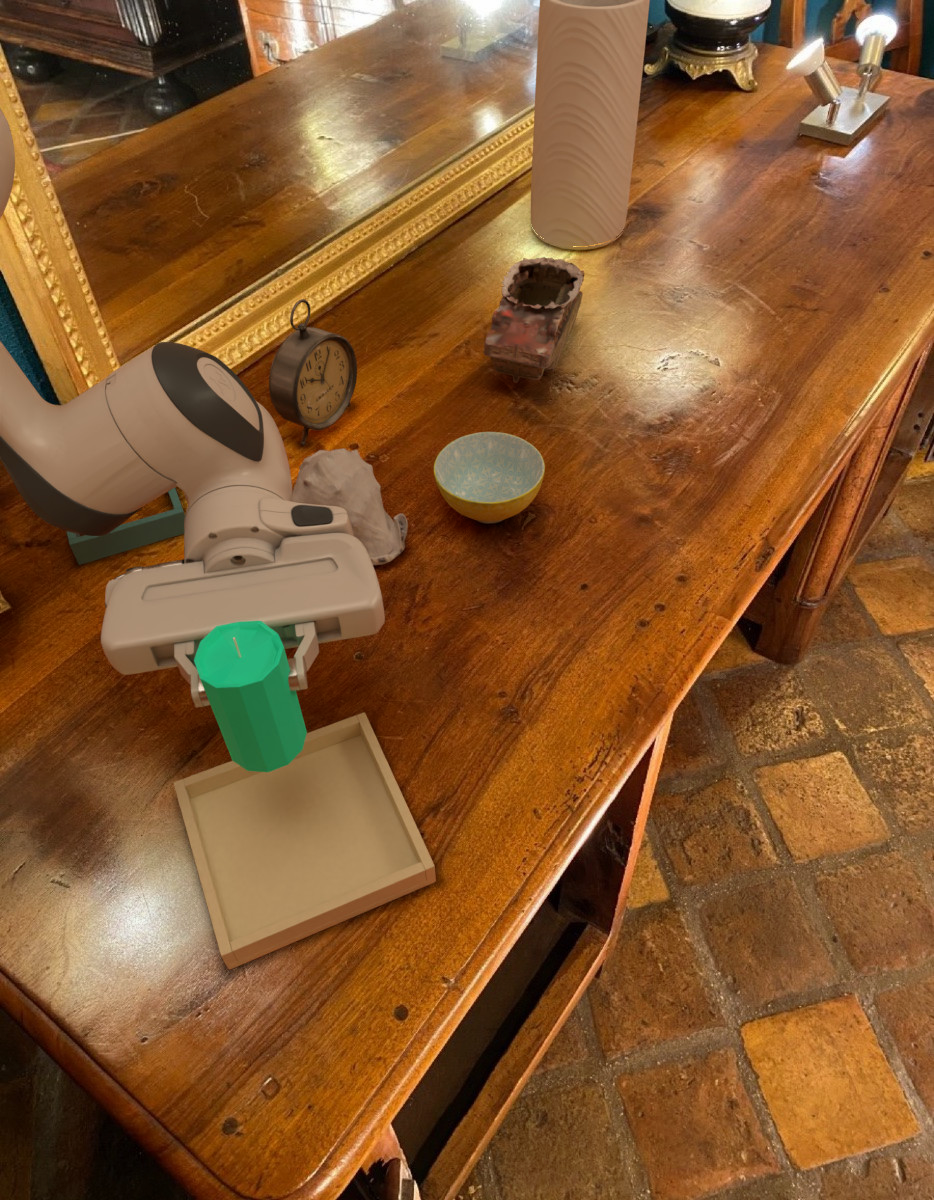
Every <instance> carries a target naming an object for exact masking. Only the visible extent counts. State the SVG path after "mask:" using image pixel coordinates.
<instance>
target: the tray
mask: <svg viewBox="0 0 934 1200" xmlns="http://www.w3.org/2000/svg"><path fill="white" fill-rule="evenodd" d="M399 786H400V785H399V784H398V782H397V780H396V777H395V776H394V773H393V771H392V768H391V767H390V765H389V762H388V760H387V758H386V755H385V754H384V751H383V749H382V747H381V744H380V742H379V740H378V737H377V736H376V734H375V731H374V729H373V727H372V725H371V722H370V721H369V718H368V716H367V714H366V712H365V711H364V712H361V713H358V714H355V715H353V716H349V717H348V718H345V719H342V720H339V721H337V722H333V723H331V724H328V725H326V726H323V727H321V728H320V727H319V728H317V729H315V730H312V731H309V732H307V734H306V738H305V742H304V746H303V750H302V751H301V752H300V753H299V754H298V755H297V756H296V757H295V758H294V759H293V760H292V761H291V762H290V763H289V765H286V766H283V767H281V768H278V769H276V770H273V771H270V772H256V771H247V770H245V769H244V768H243V767H241V766H240V765H238V764H237V763H235V762H234V761H232V760H230V761H228V762H225V763H222V764H220V765H217V766H214V767H211V768H208V769H206V770H203V771H200V772H198V773H195V774H192V775H190V776H187V777H185V778H181V779H179V780H175V781H173V787H174V790H175V791H174V792H175V794H176V798H177V801H178V805H179V809H180V813H181V816H182V820H183V823H184V827H185V830H186V834H187V838H188V841H189V845H190V849H191V852H192V857H193V859H194V863H195V866H196V870H197V874H198V877H199V882H200V885H201V889H202V892H203V896H204V900H205V903H206V907H207V910H208V914H209V918H210V921H211V925H212V928H213V931H214V935H215V940H216V944H217V947H218V950H219V954H220V957H221V958H222V960H223V962H224V964H225V966H226V967H227V969H228V970H229V971H230V970H233V969H234V968H235V969H236V968H237V967H240V966H242V965H244V964H246V963H249V962H251V961H253V960H256V959H258V958H261V957H263V956H266V955H267V954H270V953H272V952H274V951H277V950H280V949H281V948H284V947H286V946H289V945H291V944H294V943H296V942H298V941H300V940H303V939H305V938H308V937H310V936H312V935H314V934H317V933H319V932H321V931H324V930H327V929H329V928H332V927H333V926H336V925H338V924H340V923H343V922H345V921H347V920H350V919H352V918H354V917H356V916H359V915H361V914H364V913H366V912H369V911H370V910H373V909H376V908H377V907H380V906H382V905H385V904H387V903H390V902H393V901H394V900H397V899H400V898H401V897H405V896H406V895H409V894H411V893H413V892H416V891H417V890H418V891H419V890H420V889H423V888H425V887H428V886H429V885H432V884H434V883H436V882H437V878H436V867H435V864H434V861H433V859H432V856H431V855H430V852H429V850H428V848H427V846H426V843H425V841H424V839H423V837H422V835H421V832H420V830H419V828H418V825H417V824H416V822H415V820H414V817H413V814H412V813H411V811H410V809H409V806H408V804H407V802H406V800H405V798H404V797H405V796H404V795H403V792H402V791H401V788H400V787H399Z"/></svg>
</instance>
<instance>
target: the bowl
mask: <svg viewBox="0 0 934 1200" xmlns="http://www.w3.org/2000/svg"><path fill="white" fill-rule="evenodd" d="M545 473H546V465H545V460H544V457H543V456H542V454H541V452H540V451H539V450H538V449H537V448H536V446H534V445H533V444H532V443H530V442H529V441H527V440H525V439H523V438H521V437H520V436H517V435H514V434H512V433H511V434H510V433H506V432H499V431H498V432H497V431H482V432H481V431H480V432H474V433H470V434H466V435H464V436H463V435H462V436H460V437H458V438H456V439H454V440H452V441H451V442H449V443H447V444H446V445H445V446H444V447H443V448H442V449H441V450H440V451H439V453H438V454H437V456H436V458H435V460H434V463H433V476H434V480H435V483H436V486H437V489H438V491H439V493H440V495H441V496H442V498H443V499H444V501H445V502H446V503H447V504H448V505H449V506H450V507H451V509H453V510H454V511H456V512H457V513H459V514H460V515H461V516H464V517H466V518H469V519H471V520H475V521H477V522H479V523H482V524H497V523H499V522H502V521H504V520H506V519H507V520H508V519H510V518H512V517H514V516H515V515H518V514H520V513H521V512H522V511H524V510H525V509H526V508H528V506H529V505H530V504H531V503H533V501H534V499H535V498H536V496H537V495H538V493H539V491H540V489H541V487H542V484H543V481H544V477H545Z"/></svg>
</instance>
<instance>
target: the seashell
mask: <svg viewBox="0 0 934 1200" xmlns="http://www.w3.org/2000/svg"><path fill="white" fill-rule="evenodd" d="M291 502H297V503H304V504H313V505H325V506H337V507H341V508H344V509H345V510H346V511H347V514H348V516H349V519H350V522H351V526H352V529H353V534H354V537H356V538H357V539H358V540H360V541H361V542H362V544H363V545H364V546H365V548H366V550H367V552H368V554H369V556H370V559H371V561H372V564H373V566H382V565H385V564H387V563H390V562H392V561H393V560H394V559H396V558H397V557H398V556H400V555H401V554H402V553H403V551H405V549H406V548H405V547H406V543H405V541H406V538H407V534H408V527H409V522H408V519H407V517H406V515H405V514H404V513H402V512H400V513H398V514H396V515H395V516H393V519H392V517H391V516H390V515H389V514H388V512H387V511H386V510H385V507H384V504H383V497H382V492H381V484H380V483H379V482H378V481H377V479H376V477H375V474H374V469H373V465H372V464H370V463H368V462H366V461H365V460H364V459H363V458H362V457H361V455H360V451H358V449H353V450H347V449H346V448H345V447H344V448H343V447H342V448H335V449H332V450H326V449H319V450H318V451H316V452H314V453H313V454H311V455H308V456H307V457H305V458H304V459H303V461H302V462H301V464H300V465H299V470H298V475H297V478H296V481H295V484H294V486H293V488H292V496H291Z"/></svg>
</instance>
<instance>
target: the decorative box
mask: <svg viewBox="0 0 934 1200" xmlns="http://www.w3.org/2000/svg"><path fill="white" fill-rule="evenodd" d="M580 269H581V268H579V267H578V266H577V265H575V264H574V263H572V262H569V261H566V260H564V259H561V258H557V259H556V258H553V257H548V258H547V257H545V256H543V257H536V258H530V259H528V258H525V257H524V258H523V259H522V260H520V261H517V262H515V263H514V264H512V265H510V268H509V271H507V272H506V275H504V276H503V280H502V281H501V284H502V285H501V295H502V297H501V300H500V301H499V305H498V308H496V309H495V310H494V312H493V313H492V317H491V323H490V330H488V332H487V333H486V334H485V336H486V337H485V339H484V346H483V351H482V352H483V353H482V354H483V355H484V356H486V357H489V358H490V361H491V362H492V364H493V367H494V369H495V372H497V373H499V374H504V375H507V376H512V381H513V382H514V383H518V382H519V380H520V379H521V378H522V379H527V380H531V381H539V380H541V378H542V377H543V375H544V372H548V373H553V372H554V371H555V369H556V368H557V365H558V362H559V360H560V358H561V355H562V353H563V350H564V349H565V347H566V343H567V341H568V339H569V336H570V335H571V332H572V330H573V328H574V326H575V325H574V324H575V323H576V320H577V316H578V313H579V311H580V307H581V304H582V299H583V291H581V287H582V286H583V282H584V278H585V270H580Z"/></svg>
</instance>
